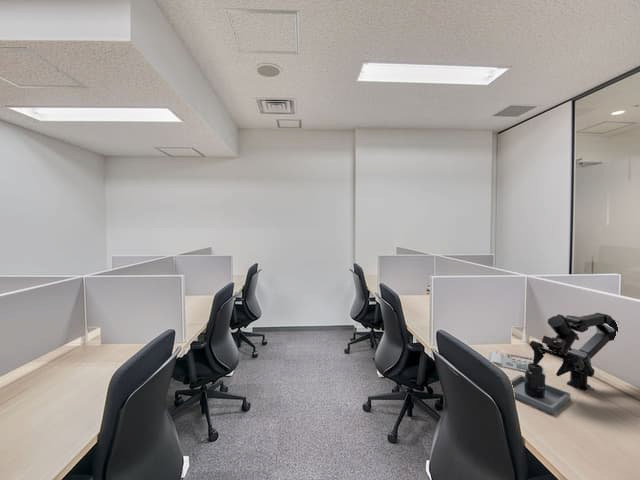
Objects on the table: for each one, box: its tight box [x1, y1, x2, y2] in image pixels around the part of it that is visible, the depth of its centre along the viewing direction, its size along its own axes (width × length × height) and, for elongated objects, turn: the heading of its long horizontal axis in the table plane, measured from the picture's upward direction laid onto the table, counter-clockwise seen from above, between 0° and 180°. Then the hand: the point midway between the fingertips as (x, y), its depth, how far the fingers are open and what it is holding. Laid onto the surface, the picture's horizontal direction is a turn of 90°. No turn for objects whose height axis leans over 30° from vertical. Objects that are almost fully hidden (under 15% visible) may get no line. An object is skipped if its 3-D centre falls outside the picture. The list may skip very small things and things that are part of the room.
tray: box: [510, 374, 571, 416], centre depth 118 cm, size 18×18×3 cm
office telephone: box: [488, 350, 546, 376], centre depth 149 cm, size 23×3×20 cm
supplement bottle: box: [524, 362, 546, 398], centre depth 118 cm, size 7×7×12 cm
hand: (545, 370), depth 120 cm, fingers open, 9 cm apart
